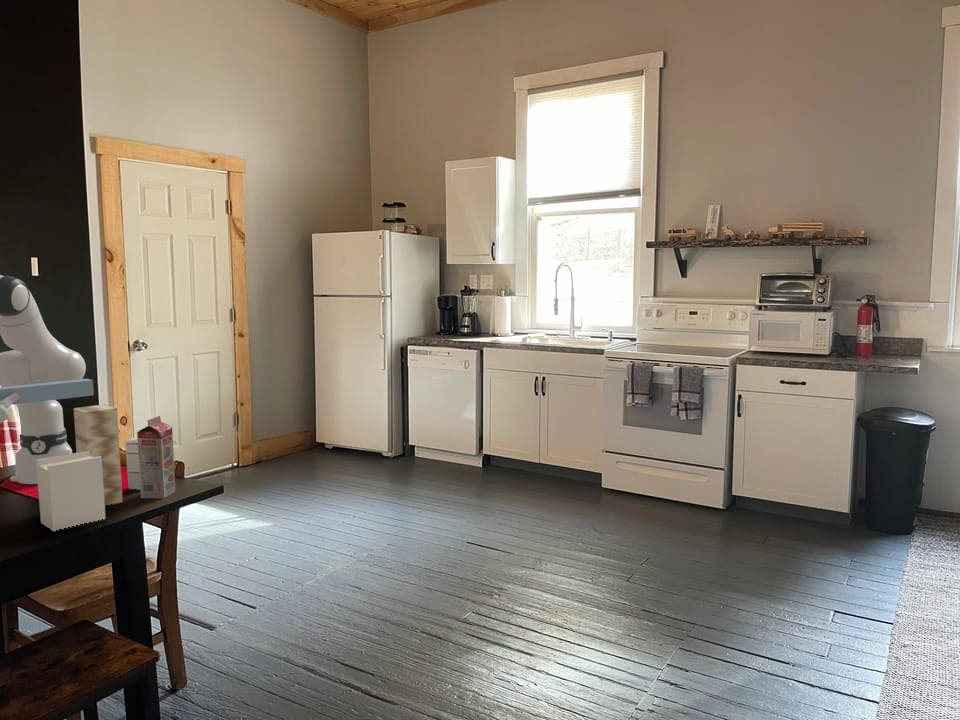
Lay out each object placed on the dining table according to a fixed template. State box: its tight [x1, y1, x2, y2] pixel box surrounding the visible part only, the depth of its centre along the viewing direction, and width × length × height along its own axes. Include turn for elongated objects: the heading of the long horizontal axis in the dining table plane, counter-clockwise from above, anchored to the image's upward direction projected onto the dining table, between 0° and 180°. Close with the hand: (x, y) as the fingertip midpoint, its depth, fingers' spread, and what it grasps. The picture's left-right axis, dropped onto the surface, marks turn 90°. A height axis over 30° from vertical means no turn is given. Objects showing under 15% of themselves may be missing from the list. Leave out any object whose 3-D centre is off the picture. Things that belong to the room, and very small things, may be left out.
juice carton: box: [136, 415, 176, 499], centre depth 204 cm, size 7×7×22 cm
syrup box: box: [124, 436, 140, 491], centre depth 211 cm, size 6×6×14 cm
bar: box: [0, 378, 95, 406], centre depth 185 cm, size 22×4×4 cm, turn 138°
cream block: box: [36, 451, 106, 532], centre depth 183 cm, size 12×9×16 cm
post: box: [73, 404, 123, 507], centre depth 197 cm, size 8×8×26 cm
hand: (13, 393), depth 180 cm, fingers closed on bar, 4 cm apart
